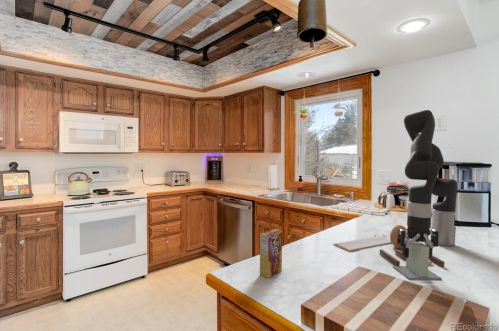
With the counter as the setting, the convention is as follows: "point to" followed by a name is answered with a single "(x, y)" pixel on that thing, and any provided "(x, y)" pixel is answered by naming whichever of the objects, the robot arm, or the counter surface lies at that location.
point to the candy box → (270, 253)
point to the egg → (396, 235)
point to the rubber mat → (413, 276)
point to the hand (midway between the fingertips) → (416, 257)
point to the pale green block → (418, 259)
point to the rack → (399, 254)
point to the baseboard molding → (363, 243)
